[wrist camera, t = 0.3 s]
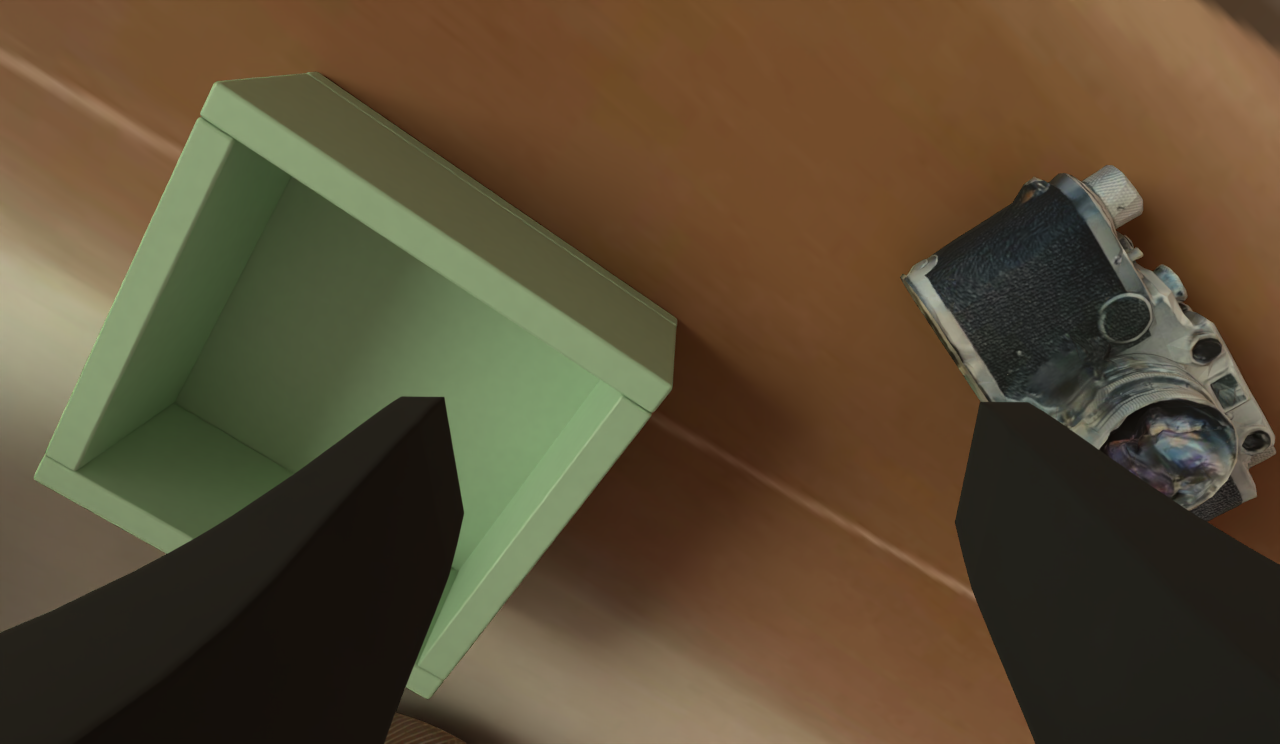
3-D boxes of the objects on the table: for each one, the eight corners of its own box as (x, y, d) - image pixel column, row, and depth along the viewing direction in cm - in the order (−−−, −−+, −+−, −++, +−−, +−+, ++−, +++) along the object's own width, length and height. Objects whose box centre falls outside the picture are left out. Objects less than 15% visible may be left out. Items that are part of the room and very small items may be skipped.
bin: (473, 589, 25) (428, 701, 21) (151, 399, 23) (31, 479, 19) (678, 318, 22) (674, 387, 17) (316, 70, 20) (213, 79, 16)
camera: (1077, 129, 19) (1175, 153, 15) (1253, 455, 22) (1374, 545, 18) (884, 255, 21) (930, 306, 17) (1073, 547, 23) (1150, 649, 19)
